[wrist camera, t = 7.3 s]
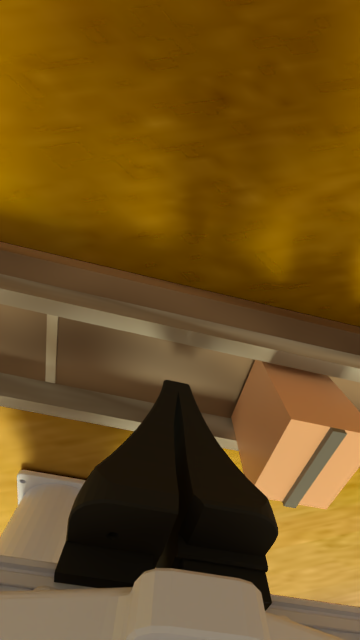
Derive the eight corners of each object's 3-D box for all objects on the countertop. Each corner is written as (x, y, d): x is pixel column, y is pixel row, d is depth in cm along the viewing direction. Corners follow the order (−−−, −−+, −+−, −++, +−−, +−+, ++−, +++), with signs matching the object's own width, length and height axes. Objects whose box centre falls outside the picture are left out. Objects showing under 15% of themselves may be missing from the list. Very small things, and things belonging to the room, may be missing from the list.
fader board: (325, 444, 20) (351, 486, 17) (-40, 373, 18) (-86, 406, 15) (397, 336, 16) (447, 365, 13) (-60, 227, 14) (-129, 231, 11)
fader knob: (287, 428, 17) (328, 513, 12) (231, 416, 16) (249, 500, 12) (321, 367, 15) (385, 441, 10) (257, 353, 15) (293, 423, 10)
